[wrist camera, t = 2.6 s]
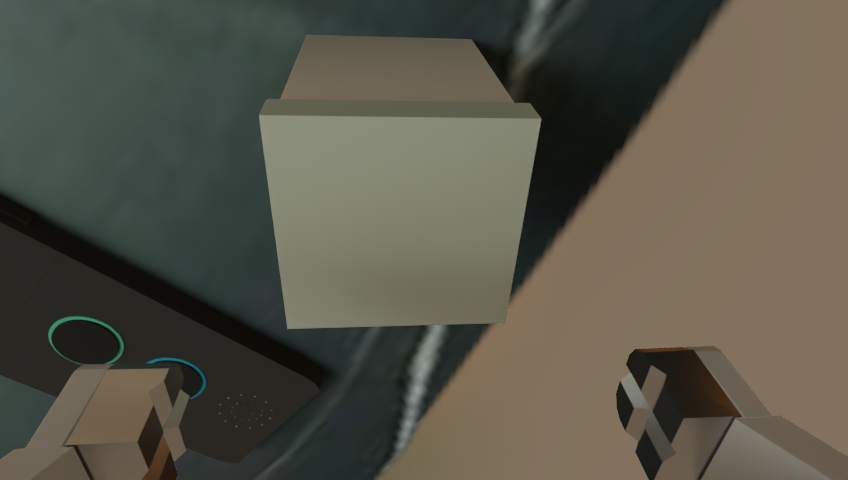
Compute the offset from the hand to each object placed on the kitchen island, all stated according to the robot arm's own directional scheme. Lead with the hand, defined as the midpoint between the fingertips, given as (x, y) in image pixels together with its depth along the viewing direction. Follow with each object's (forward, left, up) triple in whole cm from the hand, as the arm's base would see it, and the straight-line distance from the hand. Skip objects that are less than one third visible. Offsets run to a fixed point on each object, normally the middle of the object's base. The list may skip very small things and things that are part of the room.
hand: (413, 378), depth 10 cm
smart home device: (+10, -13, -13) cm, 21 cm away
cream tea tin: (0, 0, -12) cm, 12 cm away
